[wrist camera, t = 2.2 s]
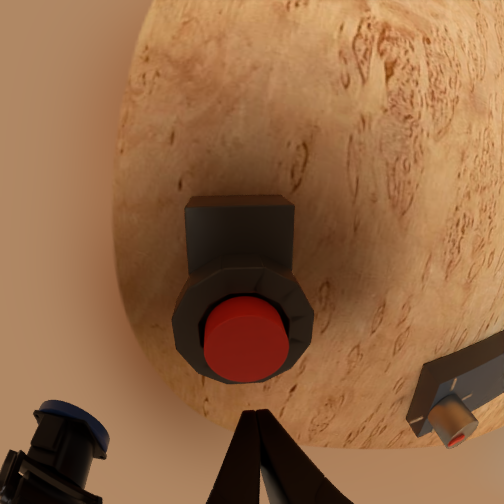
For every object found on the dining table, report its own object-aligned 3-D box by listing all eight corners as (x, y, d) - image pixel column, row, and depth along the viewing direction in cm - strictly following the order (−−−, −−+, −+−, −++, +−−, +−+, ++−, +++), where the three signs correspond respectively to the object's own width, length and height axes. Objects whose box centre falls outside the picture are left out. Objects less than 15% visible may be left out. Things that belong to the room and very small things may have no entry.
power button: (280, 356, 15) (286, 379, 13) (208, 360, 14) (207, 384, 13) (283, 293, 14) (291, 313, 12) (202, 296, 13) (200, 317, 12)
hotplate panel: (529, 316, 24) (545, 328, 21) (510, 367, 26) (523, 380, 24) (404, 370, 23) (421, 393, 20) (388, 424, 25) (400, 446, 22)
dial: (462, 388, 21) (485, 417, 17) (451, 413, 22) (471, 440, 18) (433, 402, 21) (456, 434, 17) (423, 425, 22) (442, 456, 18)
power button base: (288, 328, 20) (306, 378, 15) (189, 333, 19) (182, 385, 14) (294, 194, 17) (323, 212, 12) (177, 197, 16) (160, 216, 12)
